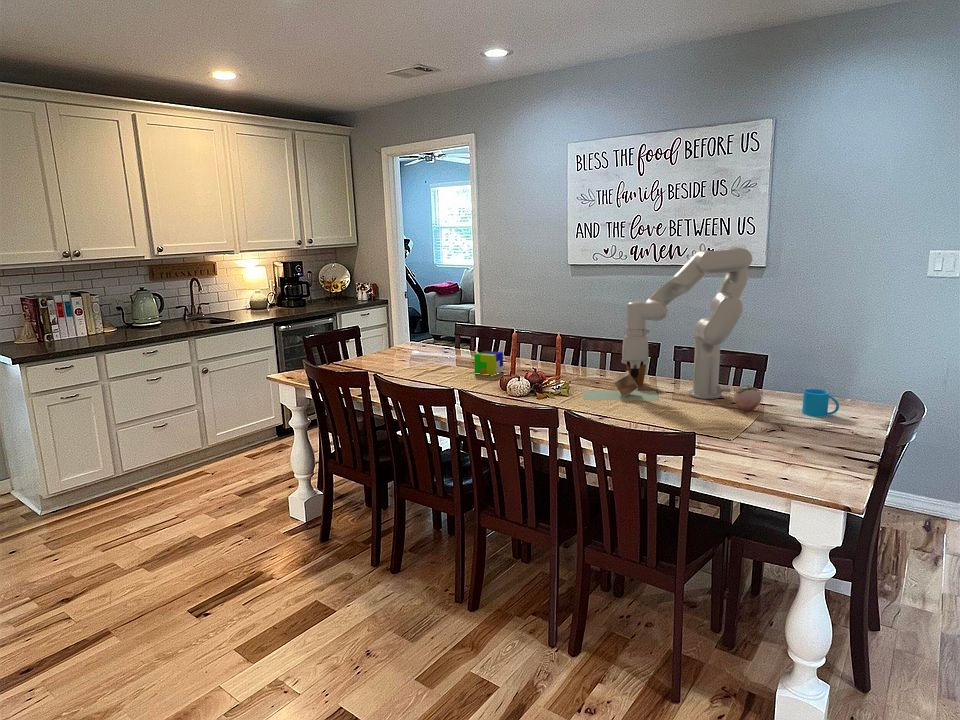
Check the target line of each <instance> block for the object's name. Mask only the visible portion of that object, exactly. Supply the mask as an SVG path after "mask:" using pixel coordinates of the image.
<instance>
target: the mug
mask: <svg viewBox="0 0 960 720" xmlns="http://www.w3.org/2000/svg"><path fill="white" fill-rule="evenodd" d="M802 396H803V397H802V406H801V407H802V408H801V413H802V414H803V415H804V416H810V417H817V418H818V417H819V418H822V417H826V416H829V415H830V416H831V415H833V414H836V413H837V412H838V411H839V409H840V403H839V402H838V400H837V399H836V398H835V397H833V396H831V395H830V392H829V391H827V390H824V389H818V388H817V389H816V388H808V389H804V390H803V395H802ZM830 399H831V400H832V401H833V402H834V404H835V409H834V410H832V411H830V412H828V411H829V402H830V401H829V400H830Z"/></svg>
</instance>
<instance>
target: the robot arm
mask: <svg viewBox="0 0 960 720" xmlns="http://www.w3.org/2000/svg"><path fill="white" fill-rule="evenodd" d="M752 262H753V255H752V253H751V252H750V250H748V249H746V248H743V247H734V246H733V247H728V248H726V249H723V250H721V249H720V250H719V249H718V250H707V249H706V250H705V249H704V250H703V249H702V250H699V251H697V252H696V253H695V254H694V255H693V256H692V257H691V258H690V259H689V260H688V261H686V263H685V264H684V265H683V266H682V267H681V268H680V269H679V270H678V271H677V272H676V273H675V274H674V275H673V276H672V277H670V279H669V280H667V281H665V283H663V285H661V286H660V287H659V288H658V289H657V290H655V291H654V293H652V295H651V296H650V297H649V298H648V299H647V300H646V301H645V302H644V301H630V302H628V303H627V304H626V328H625V332H626V333H625V335H623V339H622V349H621V357H622V358H621V364H624V365H626V364H627V365H628V366H629V367H630V368H631V376H632V377H633V378H637V376H639V368H640V367H641V366H642V365H643V364H646V365H648V364H649V363H650V362H649V339H648V336H647V334H650V329H647V327H646V326H647V321H652V322H653V321H654V322H657V321H658V322H659V321H663V320H664V319H666V318H667V316H668V314H669V310H668V305H669V304H670V303H671V302H672V301H674V300H675V299H677V298H678V297H681V296H683V295H686V294H687V293H689V292H691V290H692V289H693V288H694V287H695V286H696V285H697V284H698V283H699V282H700V281H701V280H702V279H703V278H704V277H705V276H706V275H707V274H723V273H724V277H723V279H722V281H721V284H720V285H719V287H718V289H717V291H716V293H715V295H714V296H713V298H712V300H711V301H710V303H709V309H710V311H711V313H712V315H711V317H708V316H707V317H702V318H700V319H699V320H697V322H696V324H695V326H694V328H693V338H694V339H693V340H694V358H693V359H694V361H693V381H692V383H693V385H692V389H691V390H689V391H688V395H689V396H690V397H692V398H694V399H695V398H696V399H703V400H715V399H719V398H721V397H722V396H723V395H722V394H723V392H725V393H731V389H732V388H731V387H729V386H723V385H720V384H719V377H720V376H719V375H720V358H721V345H722V344H724V343H725V342H726V341H727V340H728V339H729V337H730V335H731V334H732V331H733V330H734V328H735V326H736V325H737V323H738V322H739V320H740V318H741V315H742V314H743V310H744V309H743V308H744V305H743V303H742V301H741V299H740V298H741V296H742V294H743V291H744V290H745V289H746V286H747V282H748V278H749V277H748V275H749V273H748V268H749V267H750V266H751V265H752ZM633 361H637V363H636V366H635V368H634V366H633Z"/></svg>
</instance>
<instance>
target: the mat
mask: <svg viewBox="0 0 960 720" xmlns="http://www.w3.org/2000/svg"><path fill="white" fill-rule="evenodd" d="M582 400H584V401H585V400H586V401H587V400H588V401H589V400H590V401H593V400H595V401H649V402H650V401H651V402H652V401H655V402H657V401H659V402H660V401H661V399H660V397H659V395H658V393H657V391H656V390H636V391H634V392H632V393H630V394H628V395H627V396H625V397H623V396H622V395H621V393H620V392H619V390H595V389H594V390H588V389H586V390H582Z"/></svg>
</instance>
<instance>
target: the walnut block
mask: <svg viewBox="0 0 960 720" xmlns="http://www.w3.org/2000/svg"><path fill="white" fill-rule="evenodd" d="M612 380H613V384H614V385H615V387H616V389H617V391H619V392H620V393H621V395H622V396H623V397H625V396H627V395H628V394H630V393H632V392H634V391H638V389H639V386H637V384H636V382H635V381H634V379H633V378H632V376H631V374H630V373H629V371H627V370H626V371H625V372H622V373H621V374H620V375H617V376H616V377H614V378H613V379H612Z"/></svg>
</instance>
